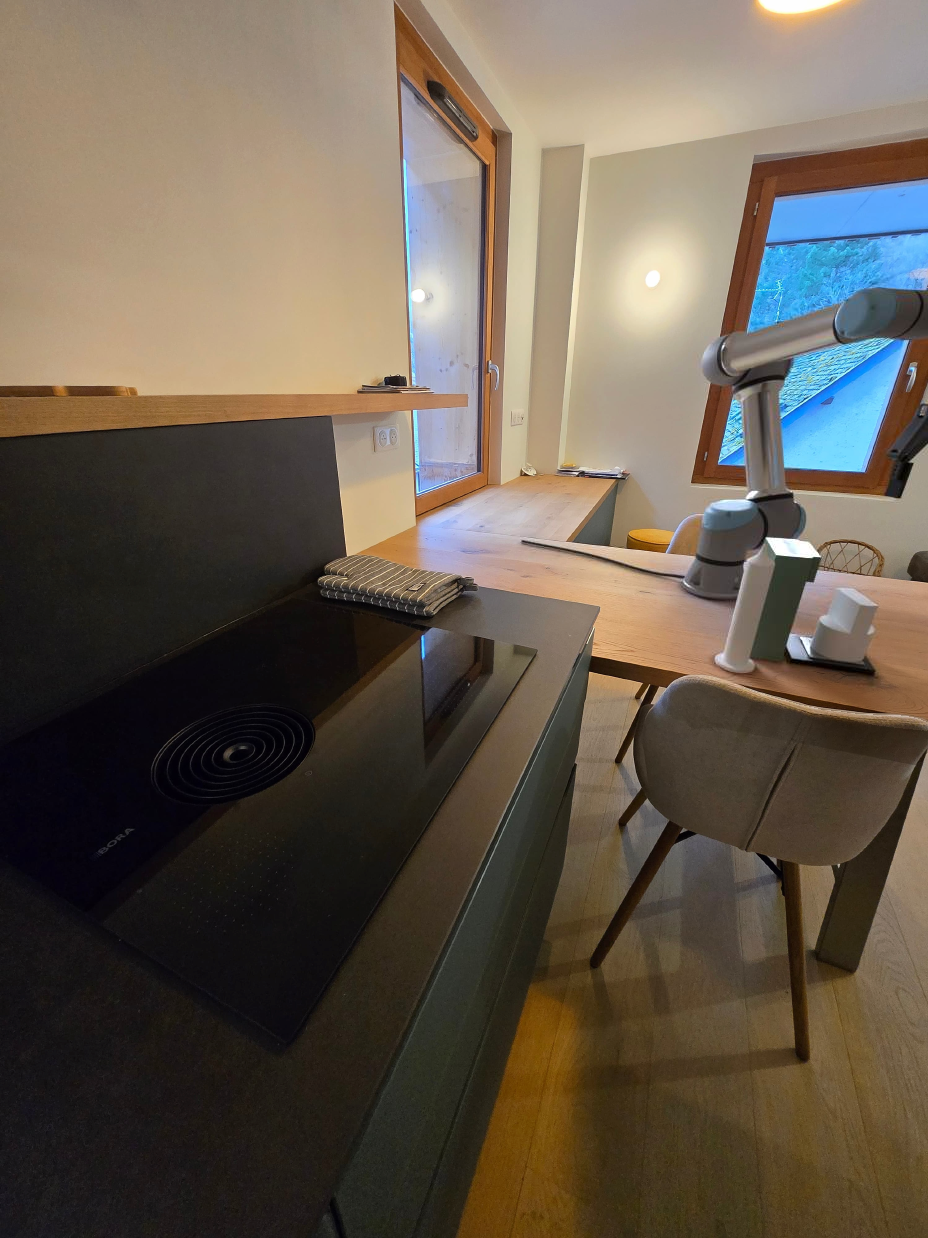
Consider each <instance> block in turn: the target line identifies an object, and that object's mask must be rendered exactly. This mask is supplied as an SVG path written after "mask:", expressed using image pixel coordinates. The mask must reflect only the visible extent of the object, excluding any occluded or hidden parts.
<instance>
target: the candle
mask: <svg viewBox="0 0 928 1238" xmlns="http://www.w3.org/2000/svg"><path fill="white" fill-rule="evenodd" d="M746 559H747V560H746V561H745V566H744V574H743V578H742V582H741V586H740V590H739V594H738V598H737V599H736V602H735V606H734V610H733V613H732V614H733V615H732V618H731V622H730V626H729V631H728V635H727V639H726V642H725V647H724V650H723V652H720V653H718V654H716V655H715V657H714V663H715V664H716V665H717V666H718V667H719V668H720V669H723V670H725V671H728V672H731V673H735V674H749V673H752V672H753V671H754V670H755V668H756V665H755V662H754V661H753V660H752V659H751V657H750V653H751V650H752V646H753V642H754V639H755V635H756V632H757V628H758V624H759V621H760V617H761V613H762V610H763V606H764V603H765V599H766V595H767V592H768V588H769V585H770V581H771V577H772V574H773V570H774V566H775V563H774V561H773V560H771V559H770V558H769V557H768V554H767V544H764V545H763V547H762V549H759V552H758V553H757V554H756V555H753V556H751V557H749V558H746Z"/></svg>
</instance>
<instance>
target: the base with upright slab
mask: <svg viewBox="0 0 928 1238" xmlns="http://www.w3.org/2000/svg"><path fill="white" fill-rule="evenodd" d="M878 609H879V605H878V604H877V603H875V602H874V601H872V600H870V599H869V598H867V597H866V596H865V595H863V594H861V593H860V592H859V591H857V590H856V589H854V588H852V587H836V588H835V591H834V593H833V597H832V600H831V602H830V606H829V609H828V612H827V614H824V615H821V616H820V617H819V618H818V621H817V625H816V627H815V631H814V633H813V639H812V642H811V647H812V649H813V650H814V651H816V652H817V653H819V654H821V655H823V656H826V657H828V658H831V659H835V660H840V661H846V662H857V661H861V660H863V659H864V657H865V656H866V654H867V652H868V649H869V646H870V643H871V641H872V640H873V636H874V634H875V627H874V626H873V625H872V624H873V621H874V618H875V616H876V613H877V611H878Z"/></svg>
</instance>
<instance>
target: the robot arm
mask: <svg viewBox="0 0 928 1238" xmlns="http://www.w3.org/2000/svg"><path fill="white" fill-rule="evenodd" d="M872 339H890V340H893V341H915V340H922V339H928V289H908V288H907V289H905V288H888V287H882V286H876V287H871V288H862V289H859V290H857V291H855V292H853V293H851V295H850V296H848V297H847V298H846V299H845V300H844V301H841V302H838V303H835V304H833V305H832V304H831V305H829V306H826V307H823V308H820V309H817V310H814V311H810V312H808V313H804V314H802V315H798V316H795V317H792V318H789V319H786V320H783V321H780V322H776V323H773V324H770V325H768V326H765V327H762V328H758V329H755V330H752V331H749V332H747V331H745V330H738V331H734V332H731V333H729V334H725V335H722V336H719V337H718V338H716V339H714V340H713V341H712V342H711V343H710V344H709V345H708V346H707V348H706V349H705V350H704V352H703V355H702V358H701V371H702V373H703V376H704V378H705V379H706V380H707V381H708V382H709V383H711V384H713V385H715V386H719V387H732V398H733V400H735V401H736V402H739V403H740V414H741V416H740V417H741V428H742V440H743V441H742V442H743V453H744V462H745V463H744V465H745V477H746V479H745V480H746V490H747V492H746V495H745V496H744V498H743V499H738V498H737V499H723V500H718V501H714V502H712V503H710V504H709V505H708V506H706V508H705V510H704V513H703V514H704V515H703V517H702V519H701V526H700V532H699V537H698V543H697V548H696V553H695V558H694V560H693V561H692V564H691V565H690V567H689V569H688V570H687V572H686V574H685V575H683V574H674V573H668V572H667V573H665V572H660V571H653V570H651V569H646V568H642V567H638V566H634V565H631V564H627V563H624V562H622V561H617V560H615V559H611V558H608V557H604V556H601V555H597V554H593V553H589V552H585V551H580V550H575V549H571V548H568V547H567V548H566V547H562V546H556V545H551V544H546V543H541V542H540V543H539V542H535V541H530V540H525V539H521V542H520V543H522V544H528V545H531V546H538V547H542V548H548V549H554V550H557V551H564V552H568V553H572V554H577V555H582V556H585V557H590V558H593V559H599V560H602V561H605V562H608V563H612V564H614V565H619V566H621V567H624V568H627V569H630V570H633V571H637V572H642V573H645V574H649V575H654V576H658V577H664V578H665V577H666V578H675V579H681V580H682V579H683V582H682V588H683V589H684V590H685V591H686V592H688V593H690V594H692V595H695V596H697V597H701V598H704V599H710V600H717V601H733V600H737V598H738V594H739V590H740V586H741V582H742V578H743V574H744V570H745V566H744V565H745V562H746V561H745V560H746V557H747V552H748V551H756V550H757V551H759V550H761V549H762V547H763V545H764V541H765V538H779V539H792V540H799V537H800V536H802V534H803V533H804V531H805V528H806V524H807V513H806V509H805V508H804V507H803V506H801V504H800V503H798V502H796V501H795V497H794V496H795V495H794V491H792V490H791V489H790V488H788V487H787V485H786V472H785V460H784V459H785V458H784V446H783V445H784V444H783V431H782V430H783V429H782V419H781V405H780V391H782V389H783V388H784V387H785V385H786V379H787V378H788V376H789V375H790V374H791V372H792V370H791V369H792V368H793V367H794V364H795V359H796V358H797V357H802V356H805V355H810V354H812V353H817V352H820V351H826V350H829V349H833V348H838V347H842V346H845V345H850V344H854V343H860V342H863V341H867V340H872ZM926 446H928V403H920V404H919V405H918V406H917V409H916V411H915V414H914V415H913V417H912V419H911V420H910V421H909V422H908V424H907V426H906V427H905V428H904V429H903V431H902V432H901V434H900V435H899V436H898V438H897V439H896V440H895V442H894V443H893V444H892V446H891V447H890V448H889V450H888V451H887V452H886V455H885V456H886V458H889V460H890V461H893V465H892V469H891V471H890V473H889V481H888V483H887V485H886V486H887V487H886V489H885V491H884V492H885V493H884V495H883V496H884V497H889V498H893V499H898V500H899V499H902V496H903V493H904V491H905V489H906V486H907V483H908V480H909V477H910V475H911V472H912V470H913V466H914V464H915V463H914V462H913V461H912V460H914V458H915V457H916V456H917V455H918V454H919V453H920V452H921V451H923V449H924V448H925V447H926ZM911 461H912V462H911Z"/></svg>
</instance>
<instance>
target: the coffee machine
mask: <svg viewBox="0 0 928 1238" xmlns="http://www.w3.org/2000/svg"><path fill="white" fill-rule="evenodd" d="M764 544H767V554H768V557H769V558H770V559H771V560H773V561H774V563H775V566H774V570H773V574H772V577H771V581H770V585H769V588H768V592H767V595H766V599H765V603H764V606H763V610H762V613H761V617H760V621H759V624H758V628H757V632H756V635H755V639H754V642H753V646H752V650H751V653H750V657H749V658H750V659H751V658H752V659H759V660H765V661H772V662H778V663H779V662H780V663H781V662H782V661H783V658H784V655H786V657H787V660H788V662H789V664H791V665H793V664H794V665H800V666H805V667H813V668H819V669H827V670H833V671H840V672H848V673H854V674H855V673H856V674H860V675H867V676H868V675H869V676H875V673H876V672H877V670H876V669H875V667H874V666H873V664H872V663H871V662H870V660H869V659H868V657H867V655H865V657H864V659H863V660H861V661H857V662H846V661H840V660H835V659H831V658H828V657H826V656H823V655H821V654H819V653H817V652H816V651H814V650H813V649H812V647H811V642H812V639H813V636H814V635H813V636H811V635H805V634H796V633H792V628H793V626H794V622H795V618H796V616H797V613H798V609H799V606H800V603H801V600H802V596H803V594H804V590H805V587H806V585H807V583H811V584H812V583H815V580H816V577H817V573H818V572H819V571H818V570H819V568H820V564H821V561H822V557H823V556H821V554H820V553H818V551H817V550H816V549H815V548H814V547H813V545H812V544H811V543H810V542H809V541H801V540H799V539H797V540H792V539H779V538H765V541H764Z"/></svg>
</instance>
